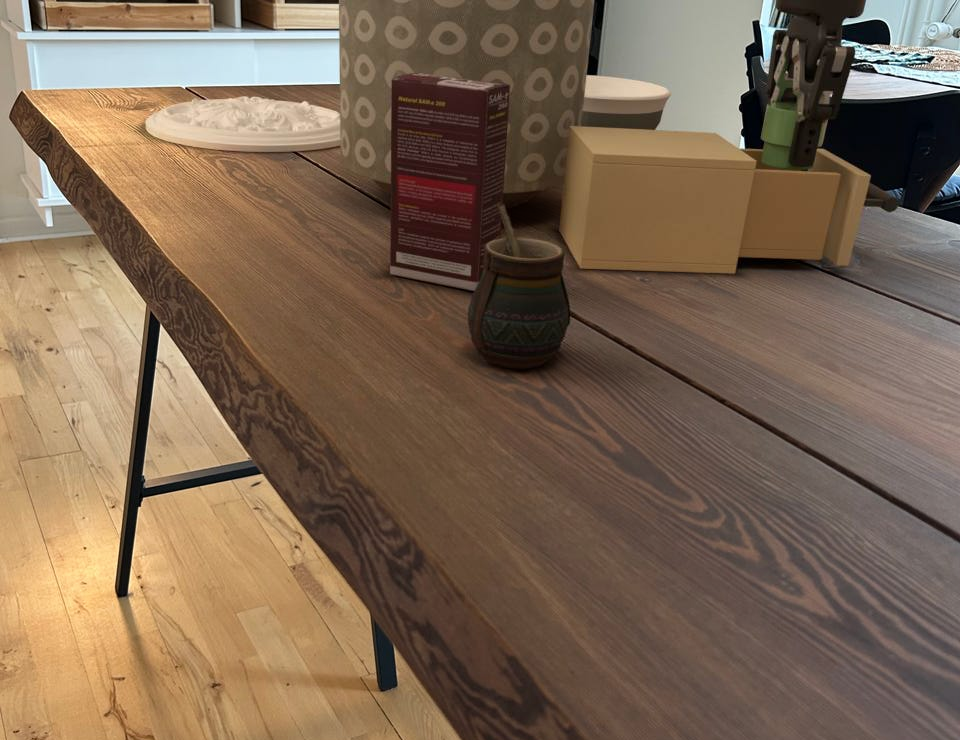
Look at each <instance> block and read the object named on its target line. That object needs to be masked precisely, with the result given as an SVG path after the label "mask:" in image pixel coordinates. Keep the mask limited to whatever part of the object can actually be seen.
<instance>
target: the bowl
mask: <svg viewBox="0 0 960 740" xmlns="http://www.w3.org/2000/svg"><path fill="white" fill-rule="evenodd" d="M671 95H672V94H671V91H670V89H668V88H667V87H664V86H662V85H659V84H655V83H653V82H652V83H651V82H647V81H644V80H643V81H642V80H637V79H631V78H624V77H614V76H604V75H592V74H591V75H590V74H587V76H586V85H585V95H584V104H583V114H582V123H581V126H582V127H603V128H623V129H644V130H657V128H658V126H659V125H660V123H661V121H662V116H663V113H664V109H665V107H666V104H667V102H668V100H669V98H670V97H671Z"/></svg>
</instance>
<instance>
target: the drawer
mask: <svg viewBox="0 0 960 740" xmlns="http://www.w3.org/2000/svg"><path fill="white" fill-rule="evenodd" d="M737 148H738V149H740V150H741V151H743V152H744V153H746V154H747V155H749V156H750V157H751V158H753V159H754V160H756V161H757V162H756V167H755V172H754V177H753V183H752V188H751V193H750V198H749V203H748V209H747V214H746V219H745V224H744V229H743V235H742V240H741V245H740V250H739V255H738V258H756V259H760V258H761V259H763V258H764V259H783V260H784V259H785V260H786V259H787V260H811V261H812V260H813V261H821V260H822V258H823V256H824V257H825V258H826V259H828V260H829V261H830V262H832V264H834V265H835V266H837V267H849V266H850V262H851V258H852V253H853V249H854V246H855V241H856V237H857V234H858V229H859V225H860V221H861V217H862V213H863V211H864V210H863V209H864V207H869V208H870V207H871V208H880V209H882V210H884V211H886V213H892V212H895V211H896V210H897V209H898V207H899V203H900V202H899V199H898V198H897V197H895V196H894V195H892V194H890V193H889V192H887V191H885V190H884V189H881V187H878V186H876V185H875V184H873V183H872V182H870V181H871V178H872V175H871V174H869V173H868V172H865V171H864V170H862V169H860V168H858V167H857V166H855V165H853V164H851V163H849V161H846V160H844V159H842V158H841V157H839V156H837V155H835V154H834V153H831V152H830V151H828V150H826V149H825V148H817V151H816V156H815V161H814V165H813V168H811V169H807V171H806V170H805V171H804V170H794V169H784V168H777V167H772V166H769V165H766V164H764V163H762V162H761V158H762V153H763V148H762V149H759V148H758V149H757V148H739V147H737Z"/></svg>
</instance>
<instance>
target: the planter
mask: <svg viewBox="0 0 960 740" xmlns="http://www.w3.org/2000/svg"><path fill="white" fill-rule="evenodd" d="M594 7H595V0H338V42H339V43H338V44H339V46H338V47H339V48H338V49H339V51H338V52H339V53H338V54H339V55H338V56H339V113H340V146H339V148H340V151H339V152H340V154H339V155H340V163H341V164H342V167H344V168H345V169H346V170H348V171H350V172H352V173H353V174H356V175H358V176H360V177H363V178H366V179H369V180H371V181H373V182H374V183H375V184H376V185H377V186H379V187H380V188H381V189H382V190H383V191H385V192H386V193H388V194H389V195H391V97H392V81H391V79H392V78H394V77H397V76H401V75H405V74H411V73H423V74H431V75H438V76H446V77H455V78H463V79H471V80H479V81H487V82H495V83H503V84H509V85H510V94H509V111H508V127H507V143H506V158H505V175H504V190H503V204H505V208H506V210H508V209H511V208H514V207H516V206H518V205H520V204H524V203H525V202H527V201H529V200H531V199H533V198H534V197H536V196H537V195H539V194H540V193H541V192H542V191H544V190H549V189H554V188H557V187H561V186H564V177H565V167H566V157H567V147H568V137H569V127H570V126H581V123H582V114H583V104H584V95H585V85H586V76H587V75H588V66H589V54H590V46H591V45H590V44H591V38H592V37H591V36H592V29H593V28H592V26H593V17H594V10H595V9H594Z"/></svg>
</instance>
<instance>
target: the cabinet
mask: <svg viewBox="0 0 960 740" xmlns="http://www.w3.org/2000/svg"><path fill="white" fill-rule="evenodd" d="M738 148H739V147H737V146H735V144H732V143H731V142H730V141H729V140H727V139H725V138H724V137H723V136H721V135H720V134H718V133H716V132H703V131H686V130H685V131H683V130H682V131H681V130H665V129H664V130H663V129H662V130H661V129H655V130H644V129H623V128H603V127H582V126H570V127H569V137H568V147H567V157H566V167H565V177H564V185H563V188H562V197H561V207H560V218H559V227H558V231H559V233H560V234H561V236H562V238H563V240H564V242H565V244H566V245H567V247H568V249H569V251H570V252H571V255H572V256H573V258H574V260H575V261H576V263H577V265H578V267H579V269H582V270H583V269H585V270H608V271H612V270H613V271H637V272H639V271H641V272H642V271H643V272H670V273H672V272H673V273H696V274H697V273H698V274H700V273H701V274H732V275H735V274H736V272H737V266H738V260H739V257H738V255H739V250H740V245H741V240H742V235H743V229H744V224H745V219H746V214H747V209H748V203H749V198H750V193H751V188H752V183H753V177H754V172H755V167H756V162H757V161H756V160H754V159H753V158H751V157H750V156H749V155H747V154H746V153H744V152H743V151H741V150H740V149H741V148H740V149H738Z"/></svg>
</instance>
